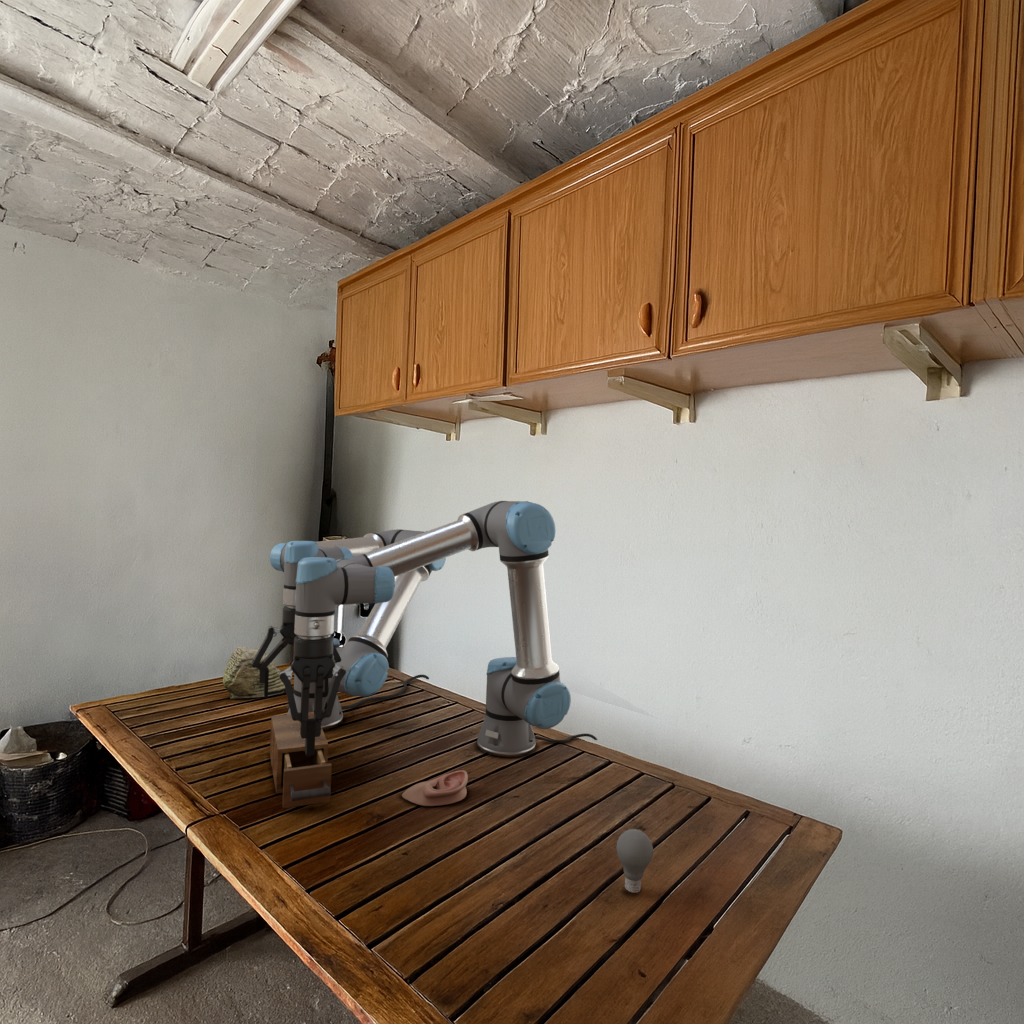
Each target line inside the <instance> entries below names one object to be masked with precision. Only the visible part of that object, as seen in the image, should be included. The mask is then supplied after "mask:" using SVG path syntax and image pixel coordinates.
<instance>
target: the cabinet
mask: <svg viewBox="0 0 1024 1024" xmlns="http://www.w3.org/2000/svg"><path fill="white" fill-rule="evenodd" d="M310 718H314V712H309V713H308V719H310ZM300 723H301V722H300V721H297V720H296V721H294V720H293V719H292V716H291V714H287V713H286V714H279V715H277V714H276V715H271V716H270V739H269V758H270V764H271V765H270V766H271V771H272V776H273V782H274V788H275V794H283V780H282V753H288V752H297V751H305V739H306V738H303V739H302V738H301V735H300ZM315 749H321V751H322V754H323V757H324V759H325V764H328V763H329V760H328V759H329V743H328V739H327V737H326V734H325V731H323V730H322V727H321V735H320V737H315Z"/></svg>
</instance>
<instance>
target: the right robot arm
mask: <svg viewBox="0 0 1024 1024" xmlns="http://www.w3.org/2000/svg"><path fill="white" fill-rule="evenodd" d="M556 530H557V529H556V523H555V520H554V517H553V516H552V514H551V512H550V511H549V509H547V508H546V507H545V506H543V505H542V504H539V503H537V502H536V503H535V502H532V501H528V500H526V501H525V500H524V501H522V500H498V501H494V502H491V503H488V504H486V505H483V506H481V507H478V508H475V509H472V510H470V511H468V512H465V513H461V514H460V515H458V517H457V520H454V521H452V522H449V523H447V524H443V525H441V526H438V527H435V528H432V529H430V530H426V531H427V532H425V531H424V533H421V534H418V535H415V536H413V537H410V538H407V539H404V540H401V541H398V542H396V543H393V544H390V545H387V546H384V547H382V548H379V549H376V550H373V551H370V552H368V553H365V554H363V555H359V556H356V557H353V558H351V559H338V560H335V559H334V558H328V557H307V558H303V559H301V560H300V561H299V562H298V568H297V577H296V612H295V629H294V633H295V634H296V635H297V636H296V637H295V638H294V645H293V657H292V660H291V662H290V664H289V667H287V668H286V669H284V670H280V672H279V677H280V679H281V681H282V682H283V684H284V685H285V689H286V690H285V694H286V698H287V704H289V707H290V712H291V716H292V719H293V720H294V721H296V720H297V721H300V722H301V723H300V735H301V738H302V739H303V738H306V739H305V753H306V756H312V755H314V753H315V737H320V735H321V722H322V720H323V719H324V718H326V717H330V716H331V713H332V710H333V706H334V703H335V699H336V695H338V693H339V692H338V688H339V685H340V681H341V680H342V678H343V677H344V675H345V674H346V671H345V669H344V668H343V667H340V666H338V665H336V664H335V660H334V658H333V642H334V638H335V637H334V636H333V634H334V633H335V614H336V611H335V609H336V605H337V606H342V605H360V604H364V605H365V604H374V605H375V604H377V603H382V602H388V601H390V600H391V599H392V597H393V595H394V592H395V577H396V576H399V575H401V574H404V573H407V572H409V571H412V570H415V569H417V568H420V567H422V566H425V565H428V564H430V563H433V562H436V561H438V560H441V559H443V558H446V559H447V558H448V557H451V556H454V555H456V554H459V553H461V552H464V551H467V550H468V551H470V552H476V551H479V550H481V549H484V548H485V549H486V548H498V554H499V561H500V562H501V564H503V565H504V566H505V567H506V569H507V580H508V588H509V589H508V590H509V600H510V608H511V620H512V630H513V640H514V650H515V656H506V657H505V656H504V657H497V658H493V659H491V660H489V662H488V663H487V669H486V692H485V693H486V694H485V713H484V719H483V722H482V724H481V727H480V729H479V732H478V735H477V739H476V741H477V743H476V746H477V748H478V750H479V751H481V752H482V753H485V754H487V755H490V756H494V757H499V758H518V757H524V756H527V755H531V754H532V753H533V752H534V751H535V750H536V745H537V744H536V740H540V741H543V742H548V743H556V744H557V743H558V744H564V743H568V742H570V741H572V739H578V738H582V737H588V738H591V739H593V740H594V741H598V738H597V736H595V735H593V734H591V733H579V734H573V735H570V736H568V737H567V738H564V739H554V738H547V737H544V736H538V735H535V732H534V728H533V727H536V728H538V729H541V730H547V729H552V728H554V727H556V726H558V725H559V724H560V723H561V722H563V720H564V718H565V717H566V716H567V715H568V712H569V710H570V707H571V703H572V697H571V696H572V695H571V692H570V690H569V688H568V687H567V686H566V684H564V683H563V682H561V673H560V667H559V664H557V662H555V661H554V660H553V655H552V646H551V634H550V623H549V611H548V601H547V591H546V581H545V569H544V563H545V562H546V561H547V560H548V559H549V556H550V554H549V549H550V548H551V546H552V543H553V542H554V541H555V539H556V532H557V531H556ZM332 669H333V672H332V674H333V678H332V681H331V685H330V689H329V692H328V696H327V699H326V703H325V706H324V710H322V697H323V681H324V680H325V679H326V677H327V676H328V675H329V673H330V672H331V671H332ZM294 673H295V675H296V676H297V677H298V678H299V680H300V681H301V682H302V690H301V713H299V712H297V707H296V703H295V698H294V688H293V685H292V679H293V675H292V674H294ZM312 682H315V699H314V718H310V719H308V710H309V689H310V683H312Z"/></svg>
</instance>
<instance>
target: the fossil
mask: <svg viewBox="0 0 1024 1024" xmlns="http://www.w3.org/2000/svg"><path fill="white" fill-rule="evenodd" d="M259 648H260V647H258V648H251V647H247V646H246V647H245V646H238V647H237V648H236V649H235V650H233V651H232V653H231V656H230V657H229V659H228V660H227V663H226V666H225V668H224V671H223V675H222V676H223V677H222V685H223V687H224V688H225V690H226V691H228V693H229V698H230V699H250V698H264V683H260V681H259V674H260V670H259V669H258V668H253V667H252V661H253V659H254V657H255V655H256V654H257V652H258V650H259ZM267 656H268V654H267V652H265V653H264V655H263V657H262V659H261V660H260V662H262V661H263V660H264V659H265V658H266V657H267ZM267 667H268V668H269V681H268V697H271V696H275V695H281V694H284V693H285V692H286V689H285V685H284V684H283V682H282V681H281V679H280V677H279V672H280V671H281V669H279V668H278V667H277V665H276V663H275V662H274V660H273V661H272V662H271V663H270V664H269V665H268V666H267Z"/></svg>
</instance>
